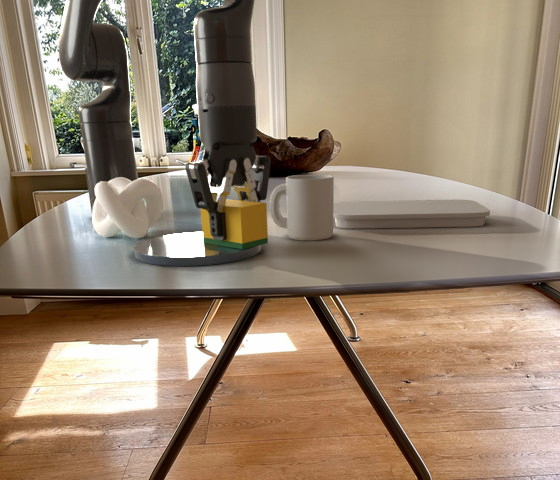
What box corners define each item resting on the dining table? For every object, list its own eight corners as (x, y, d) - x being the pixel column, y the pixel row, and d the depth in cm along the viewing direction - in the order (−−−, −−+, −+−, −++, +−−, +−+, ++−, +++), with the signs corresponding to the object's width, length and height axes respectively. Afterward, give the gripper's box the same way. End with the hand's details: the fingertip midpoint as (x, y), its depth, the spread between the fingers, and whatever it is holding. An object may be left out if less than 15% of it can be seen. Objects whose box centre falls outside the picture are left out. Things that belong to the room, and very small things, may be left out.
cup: (330, 241, 90) (330, 179, 86) (265, 240, 92) (263, 179, 88) (335, 232, 96) (336, 174, 93) (275, 231, 98) (273, 175, 94)
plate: (109, 255, 85) (108, 246, 85) (204, 235, 97) (203, 227, 97) (191, 273, 74) (190, 263, 73) (287, 248, 86) (286, 239, 85)
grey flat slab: (331, 214, 113) (331, 202, 112) (470, 211, 111) (471, 199, 110) (331, 229, 98) (332, 215, 97) (493, 226, 96) (494, 212, 95)
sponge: (203, 243, 85) (199, 203, 83) (228, 237, 88) (226, 199, 86) (242, 249, 80) (240, 207, 78) (268, 243, 83) (266, 202, 81)
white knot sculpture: (157, 242, 93) (151, 182, 89) (80, 244, 93) (71, 184, 89) (169, 229, 103) (164, 175, 100) (100, 231, 103) (92, 177, 100)
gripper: (245, 104, 84) (251, 226, 91) (164, 105, 74) (177, 242, 81) (285, 102, 79) (288, 231, 86) (203, 103, 70) (214, 248, 77)
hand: (234, 235), depth 84 cm, fingers closed on sponge, 5 cm apart
